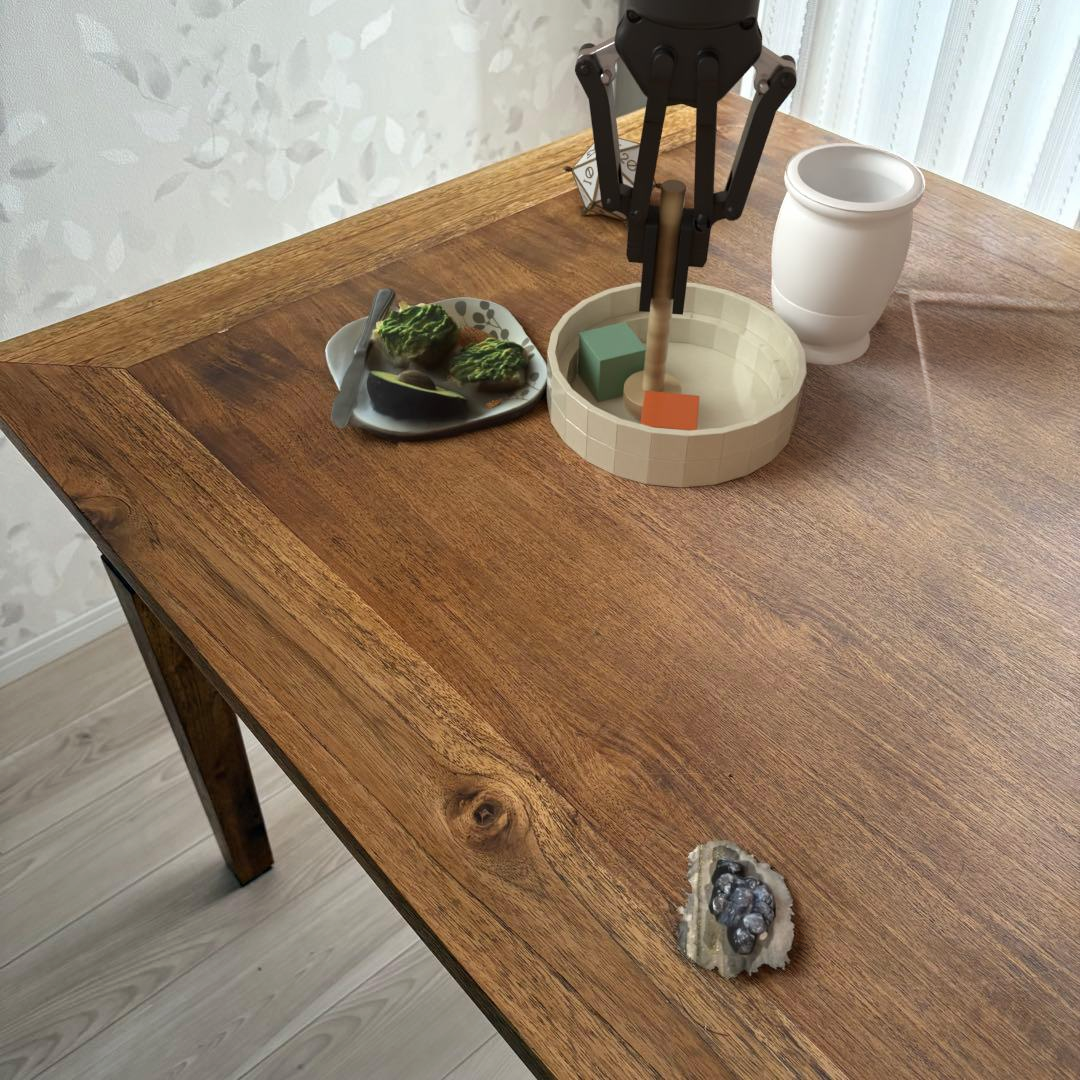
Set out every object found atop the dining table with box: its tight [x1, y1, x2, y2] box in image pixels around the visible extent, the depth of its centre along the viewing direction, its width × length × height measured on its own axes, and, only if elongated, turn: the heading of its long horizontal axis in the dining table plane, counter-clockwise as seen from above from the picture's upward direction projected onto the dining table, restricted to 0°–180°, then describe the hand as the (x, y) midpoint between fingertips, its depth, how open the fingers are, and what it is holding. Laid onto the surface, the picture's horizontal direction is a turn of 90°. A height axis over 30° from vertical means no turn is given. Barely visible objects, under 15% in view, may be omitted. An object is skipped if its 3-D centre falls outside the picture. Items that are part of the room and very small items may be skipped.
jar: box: [770, 142, 926, 366], centre depth 88 cm, size 11×10×15 cm
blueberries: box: [675, 838, 795, 980], centre depth 58 cm, size 7×8×2 cm
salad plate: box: [324, 287, 547, 444], centre depth 89 cm, size 19×18×5 cm
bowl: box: [546, 281, 808, 488], centre depth 85 cm, size 19×19×6 cm
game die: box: [562, 137, 663, 230], centre depth 105 cm, size 9×8×10 cm
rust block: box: [640, 391, 700, 430], centre depth 81 cm, size 4×4×4 cm
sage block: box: [578, 322, 646, 402], centre depth 87 cm, size 4×4×4 cm
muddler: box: [623, 179, 687, 421], centre depth 78 cm, size 4×4×18 cm
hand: (662, 301), depth 77 cm, fingers closed on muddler, 2 cm apart
